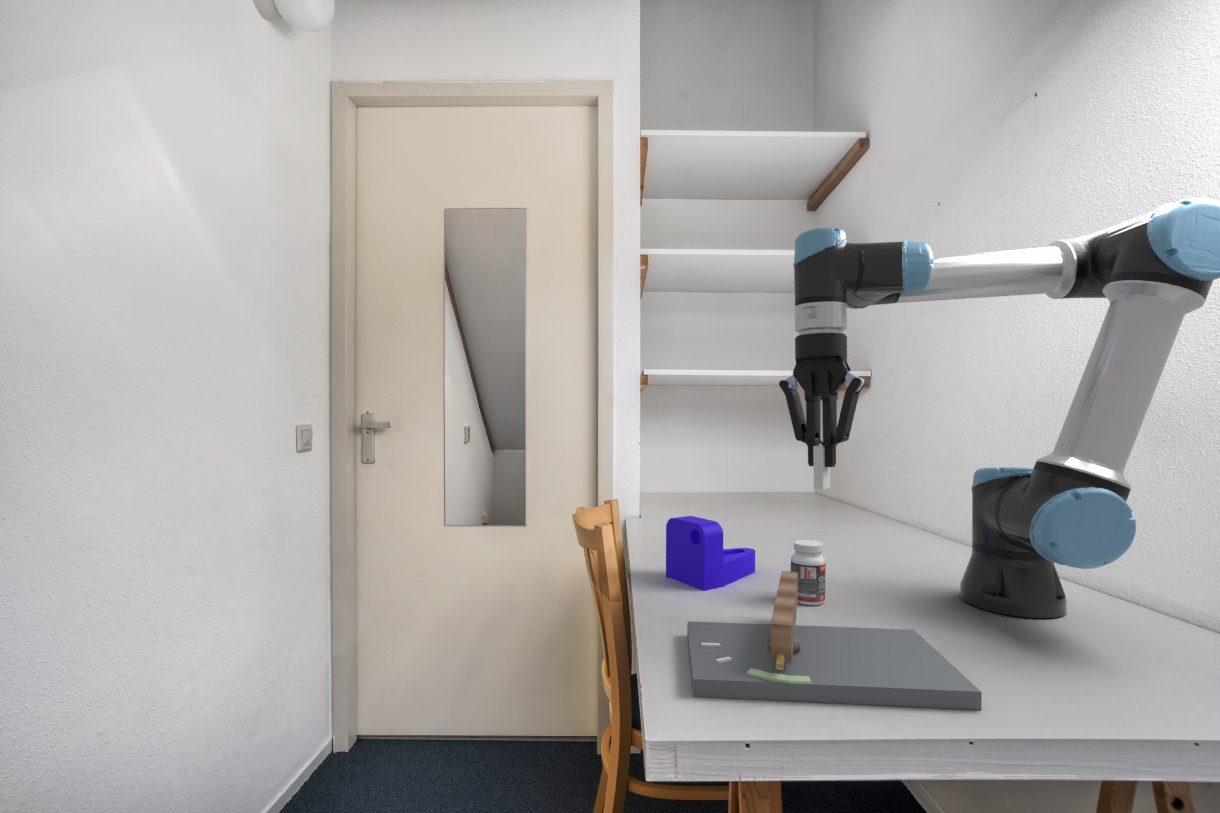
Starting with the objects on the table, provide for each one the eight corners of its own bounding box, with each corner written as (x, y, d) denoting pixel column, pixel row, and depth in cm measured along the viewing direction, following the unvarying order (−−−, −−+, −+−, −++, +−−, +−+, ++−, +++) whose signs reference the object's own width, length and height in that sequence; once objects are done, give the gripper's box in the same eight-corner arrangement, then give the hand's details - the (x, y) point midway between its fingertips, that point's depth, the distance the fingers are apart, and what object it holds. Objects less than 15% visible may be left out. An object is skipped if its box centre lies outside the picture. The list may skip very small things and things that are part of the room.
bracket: (704, 591, 112) (704, 525, 112) (665, 577, 121) (666, 516, 121) (773, 576, 122) (773, 516, 122) (732, 564, 131) (733, 508, 131)
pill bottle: (827, 607, 104) (828, 547, 103) (791, 605, 105) (792, 545, 105) (822, 596, 109) (823, 539, 109) (789, 594, 110) (789, 538, 110)
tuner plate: (913, 643, 88) (913, 627, 88) (981, 709, 69) (981, 689, 69) (687, 635, 91) (687, 619, 91) (693, 696, 72) (693, 676, 72)
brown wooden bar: (776, 605, 98) (776, 570, 98) (802, 607, 97) (803, 572, 97) (761, 678, 72) (761, 631, 72) (797, 683, 71) (798, 635, 71)
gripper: (769, 335, 97) (771, 487, 97) (854, 327, 89) (856, 495, 89) (791, 338, 103) (792, 482, 103) (873, 331, 94) (874, 489, 94)
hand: (822, 488), depth 96 cm, fingers closed
